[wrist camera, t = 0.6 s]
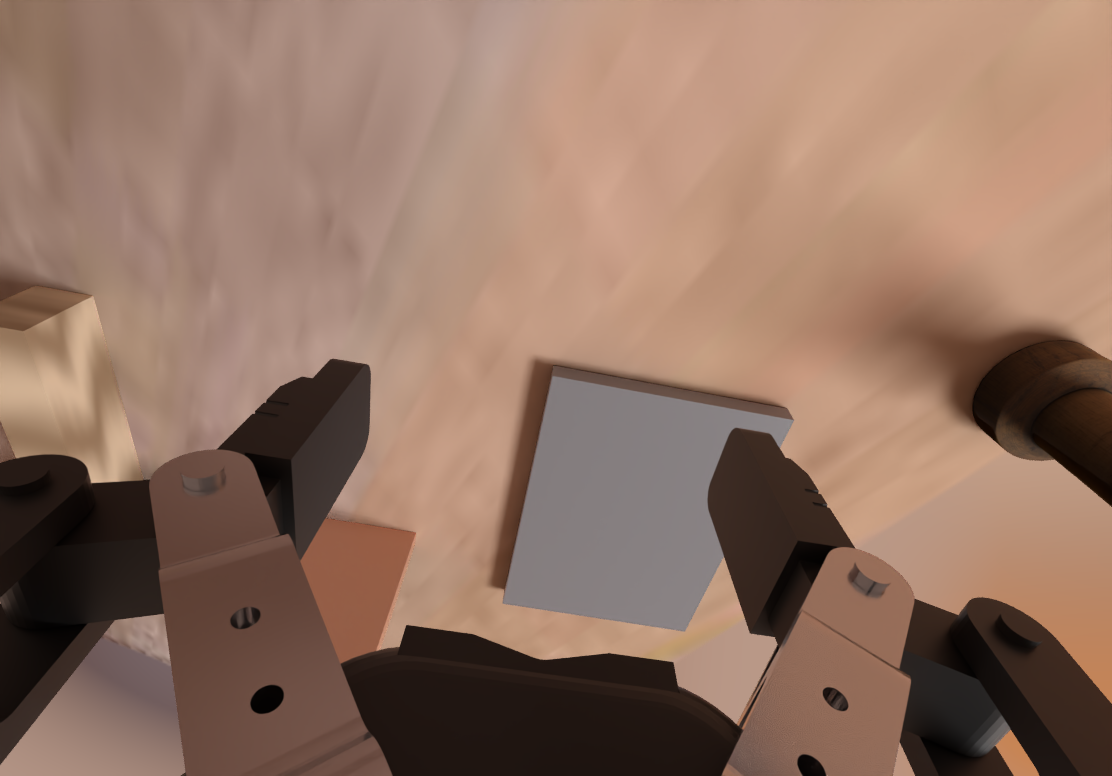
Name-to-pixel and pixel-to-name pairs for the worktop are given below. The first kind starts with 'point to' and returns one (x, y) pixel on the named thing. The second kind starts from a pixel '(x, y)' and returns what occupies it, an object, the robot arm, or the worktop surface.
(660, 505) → the board
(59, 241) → the worktop surface
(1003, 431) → the dark brown tall piece
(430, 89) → the worktop surface
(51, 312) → the beige rectangular block
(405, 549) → the tile
